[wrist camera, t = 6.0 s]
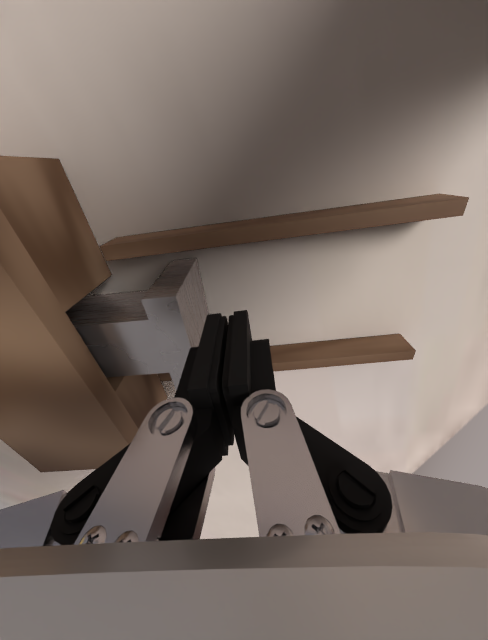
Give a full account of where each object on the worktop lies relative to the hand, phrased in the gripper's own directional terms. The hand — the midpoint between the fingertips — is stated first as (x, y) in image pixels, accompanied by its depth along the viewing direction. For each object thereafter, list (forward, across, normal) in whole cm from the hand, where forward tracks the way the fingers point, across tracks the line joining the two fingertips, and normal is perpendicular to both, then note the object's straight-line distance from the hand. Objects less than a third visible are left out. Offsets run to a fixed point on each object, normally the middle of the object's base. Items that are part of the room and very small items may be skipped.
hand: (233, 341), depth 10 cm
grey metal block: (+3, +8, 0) cm, 8 cm away
